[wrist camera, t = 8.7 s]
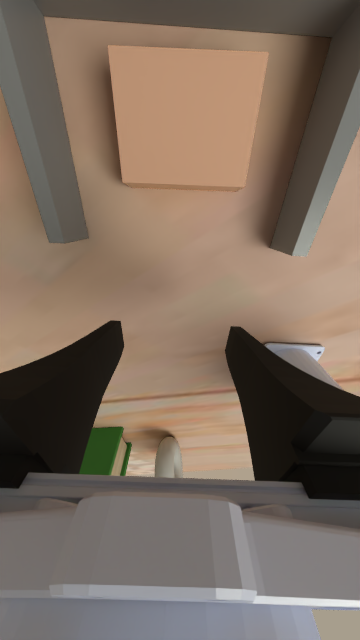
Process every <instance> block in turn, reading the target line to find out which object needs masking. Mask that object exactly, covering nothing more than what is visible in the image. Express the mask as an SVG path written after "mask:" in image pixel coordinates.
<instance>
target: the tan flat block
mask: <svg viewBox="0 0 360 640" xmlns="http://www.w3.org/2000/svg"><path fill="white" fill-rule="evenodd" d="M108 54H109V64H110V73H111V82H112V91H113V100H114V109H115V118H116V127H117V137H118V146H119V155H120V164H121V173H122V182H123V183H124V184H126V185H128V186H130V187H131V188H150V189H176V190H201V191H227V192H236V191H238V190H240V189H242V188H244V187H245V183H246V178H247V172H248V167H249V161H250V156H251V150H252V145H253V139H254V134H255V128H256V122H257V117H258V111H259V106H260V100H261V95H262V89H263V84H264V78H265V73H266V67H267V61H268V56H269V52H255V51H232V50H209V49H186V48H163V47H140V46H117V45H108Z"/></svg>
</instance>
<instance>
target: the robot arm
mask: <svg viewBox="0 0 360 640" xmlns="http://www.w3.org/2000/svg"><path fill="white" fill-rule="evenodd" d="M123 348H124V341H123V334H122V328H121V321H109V322H107V323H106V324H104V325H103V326H101V327H99V328H98V329H96V330H95V331H93V332H91V333H90V334H88V335H87V336H85V337H83V338H82V339H80V340H78V341H76V342H75V343H73V344H71V345H69V346H67V347H65V348H63V349H61V350H59V351H57V352H55V353H53V354H51V355H48V356H46V357H44V358H41V359H39V360H36V361H34V362H31V363H29V364H26V365H24V366H21V367H18V368H15V369H12V370H9V371H6V372H3V373H0V640H321V638H320V635H319V632H318V629H317V626H316V623H315V620H314V617H313V614H312V610H311V609H322V610H360V397H359V396H356V395H354V394H351V393H348V392H346V391H344V390H343V389H342V388H341V387H340V386H339V384H338V383H337V382H336V381H335V380H334V379H333V378H332V377H331V376H330V375H329V374H328V373H327V372H326V371H325V370H324V368H323V367H322V366H321V365H320V364H319V363H318V362H317V361H318V359H319V358H320V356H321V355H322V353H323V351H324V350H325V348H324V347H323V346H322V345H302V344H281V343H267V344H265V346H264V345H263V344H261V343H260V342H259V341H258V340H256V339H255V338H254V337H253V336H251V335H250V334H249V333H248V332H246V331H245V330H244V329H243V328H241V327H234V326H231V328H230V332H229V336H228V340H227V345H226V349H225V353H226V358H227V363H228V367H229V370H230V373H231V376H232V379H233V382H234V384H235V387H236V390H237V393H238V396H239V400H240V404H241V408H242V412H243V417H244V422H245V426H246V431H247V436H248V442H249V447H250V453H251V459H252V465H253V471H254V477H255V481H248V480H220V479H219V480H218V479H194V478H166V477H139V476H111V475H84V474H79V472H80V469H81V465H82V461H83V458H84V454H85V450H86V447H87V444H88V440H89V437H90V434H91V430H92V427H93V424H94V421H95V418H96V415H97V412H98V409H99V406H100V403H101V401H102V398H103V395H104V393H105V390H106V388H107V386H108V384H109V382H110V380H111V377H112V375H113V373H114V371H115V369H116V367H117V365H118V363H119V360H120V358H121V355H122V352H123Z"/></svg>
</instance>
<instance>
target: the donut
mask: <svg viewBox="0 0 360 640" xmlns="http://www.w3.org/2000/svg"><path fill="white" fill-rule="evenodd" d="M182 476H183V470H182V457H181V451H180V447H179V444H178V442H177V441H176V440H175V438H173V437H166V438H164V439H163V440H162V441H161V443H160V444H159V447H158V450H157V454H156V460H155V477H166V478H183V477H182Z"/></svg>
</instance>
